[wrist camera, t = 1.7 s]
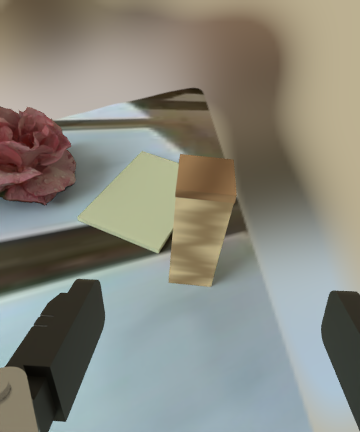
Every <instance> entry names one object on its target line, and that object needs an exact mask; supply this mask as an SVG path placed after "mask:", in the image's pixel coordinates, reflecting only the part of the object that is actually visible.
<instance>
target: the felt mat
mask: <svg viewBox="0 0 360 432" xmlns="http://www.w3.org/2000/svg"><path fill="white" fill-rule="evenodd" d="M178 167H179V163H176V162H173V161H170V160H167V159H164V158H161V157H158V156H155V155H152V154H149V153H146V152H143V151H142V152H141V153H140V154H139V155H138V156H137V157H136V158H135V159H134V160H133V161H132V162H131V163H130V164H129V165H128V166H127V167H126V168H125V169H124V170H123V171H122V172H121V173H120V174H119V175H118V176H117V177H116V178H115V179H114V180H113V181H112V182H111V183H110V184H109V185H108V186H107V187H106V188H105V189H104V190H103V191H102V192H101V193H100V195H99V196H98V197H97V198H96V199H95V200H94V201H93V202H92V203H91V204H90V205H89V206H88V207H87V208H86V209H85V210H84V211H83V212H82V213H81V214H80V215H79V216H78V217H77V218H78V221H81V222H83V223H86V224H88V225H90V226H93V227H95V228H98V229H100V230H103V231H105V232H107V233H110V234H112V235H115V236H117V237H119V238H122V239H124V240H127V241H129V242H132V243H134V244H136V245H139V246H141V247H144V248H146V249H149V250H151V251H153V252H156V253H158V254H159V252H160V250H161V249H162V247H163V246H164V244H165V243H166V241H167V239H168V238H169V236H170V235H171V233H172V232H173V224H174V212H175V200H176V197H175V192H176V183H177V175H178Z"/></svg>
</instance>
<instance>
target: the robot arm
mask: <svg viewBox="0 0 360 432" xmlns="http://www.w3.org/2000/svg"><path fill="white" fill-rule="evenodd" d="M104 321H105V310H104V304H103V298H102V291H101V285H100V282H99V280H90V279H77V280H76V281H75V282H74V283H73V285H72V287H71V288H70V290H69V292H68V293H60V294H59V295H57V296H56V297H55V298H54V299H52V300H51V301H50V302H49V303H48V304H47V305H46V307H45V308H44V310H43V311H42V313H41V314H40V317H38V319H37V320H36V322H35V323H34V326H33V327H32V328H31V329H30V331H29V332H28V334H27V335H26V337H25V338H24V340H23V341H22V343H21V344H20V345H19V347H18V348H17V350H16V351H15V353H14V354H13V356H12V357H11V359H10V360H9V362H8V363H7V365H6V366H5V367H4V368H0V432H48V431H49V429H50V426H51V424H52V422H53V421H63V422H66V420H67V418H68V415H69V413H70V410H71V408H72V405H73V403H74V400H75V398H76V395H77V393H78V390H79V388H80V385H81V383H82V380H83V378H84V375H85V373H86V370H87V368H88V365H89V363H90V360H91V358H92V355H93V353H94V350H95V348H96V345H97V343H98V340H99V338H100V335H101V333H102V330H103V327H104ZM321 333H322V340H323V343H324V346H325V348H326V351H327V353H328V356H329V358H330V360H331V363H332V365H333V368H334V370H335V372H336V375H337V377H338V380H339V382H340V384H341V387H342V389H343V392H344V394H345V397H346V399H347V401H348V404H349V406H350V409H351V411H352V414H353V416H354V418H355V421H356V423H357V425H358V428H359V430H360V295H359V293H357V292H352V291H331V292H330V294H329V297H328V302H327V305H326V309H325V313H324V317H323V321H322V325H321Z"/></svg>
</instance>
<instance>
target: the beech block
mask: <svg viewBox="0 0 360 432" xmlns="http://www.w3.org/2000/svg"><path fill="white" fill-rule="evenodd" d="M236 196H237V194H236V183H235V171H234V160H231V159H222V158H212V157H202V156H193V155H183V154H180V159H179V167H178V175H177V183H176V192H175V197H176V200H175V212H174V224H173V236H172V248H171V259H170V271H169V283H178V284H188V285H198V286H207V287H211V284H212V281H213V277H214V273H215V270H216V266H217V262H218V259H219V255H220V251H221V248H222V244H223V240H224V237H225V233H226V229H227V226H228V222H229V218H230V215H231V211H232V207H233V204H234V203H235V200H236Z"/></svg>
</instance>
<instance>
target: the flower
mask: <svg viewBox="0 0 360 432" xmlns="http://www.w3.org/2000/svg"><path fill="white" fill-rule="evenodd" d="M69 147H71V143H70V142H69V141H68V139H67V137H65V136H64V135H63V133H62V130H61V128H60V126H58V125H57V124H56V123H55V122H54V121H52V119H49V118H48V117H46V115H45V114H44V113H42V112H40V111H37V110H35V109H33V108H30V107H27V109H26V110H25V111H24V112H21V111H19V114H18V113H16V112H14V111H13V110H11V109H5V108H3V107H0V197H2V198H3V199H4V200H8V201H20V202H29V203H32V202H37V203H41V204H43V205H44V206H45V205H47V204H46V203H48V202H49V201H51V200H52V199H53V198H54V197H55V196H56V193H57V192H61V191H64V190H65V187H67V186H71V185H73V184H74V183H75V181H76V179H75V173H74V172H75V169H76V162H75V160H74V158H73V156H72V155H71V154H70V152H69V151H68V150H66V149H67V148H69Z"/></svg>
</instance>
